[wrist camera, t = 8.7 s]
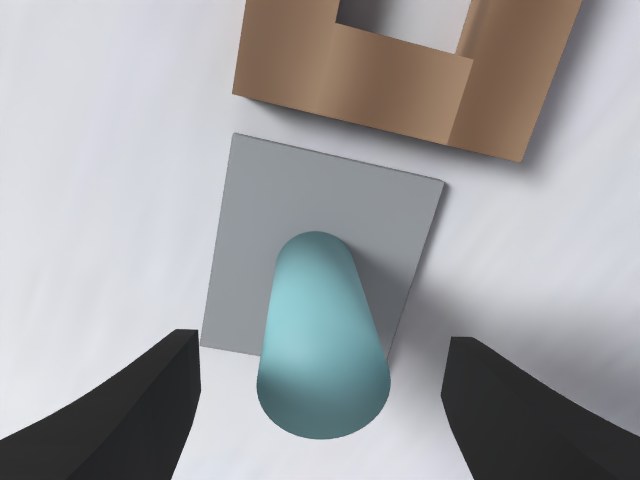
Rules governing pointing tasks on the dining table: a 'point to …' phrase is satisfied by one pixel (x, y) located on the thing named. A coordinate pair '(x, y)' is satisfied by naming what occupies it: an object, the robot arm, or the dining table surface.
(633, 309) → the dining table surface
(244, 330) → the pad
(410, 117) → the holder
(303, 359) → the peg
